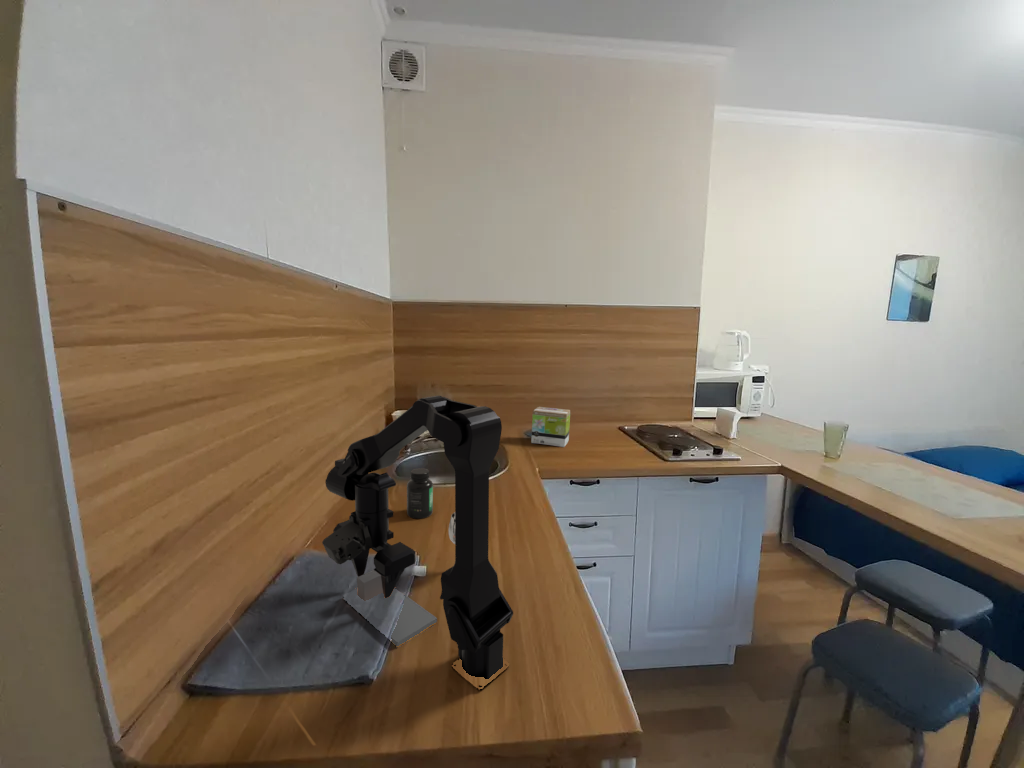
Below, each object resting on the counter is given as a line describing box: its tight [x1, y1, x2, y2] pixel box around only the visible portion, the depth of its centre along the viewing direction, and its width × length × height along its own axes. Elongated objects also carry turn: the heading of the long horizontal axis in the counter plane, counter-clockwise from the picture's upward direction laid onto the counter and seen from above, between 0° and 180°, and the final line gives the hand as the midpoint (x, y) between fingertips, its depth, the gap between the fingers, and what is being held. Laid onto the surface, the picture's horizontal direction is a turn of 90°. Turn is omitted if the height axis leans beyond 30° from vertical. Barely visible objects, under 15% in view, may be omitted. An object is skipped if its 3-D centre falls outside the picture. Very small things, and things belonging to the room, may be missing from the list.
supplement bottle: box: [406, 467, 434, 520], centre depth 118 cm, size 7×7×12 cm
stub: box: [356, 569, 383, 601], centre depth 82 cm, size 8×8×5 cm
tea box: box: [530, 406, 571, 448], centre depth 191 cm, size 15×10×15 cm
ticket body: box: [391, 595, 438, 646], centre depth 76 cm, size 9×8×1 cm
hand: (373, 586), depth 82 cm, fingers open, 9 cm apart
